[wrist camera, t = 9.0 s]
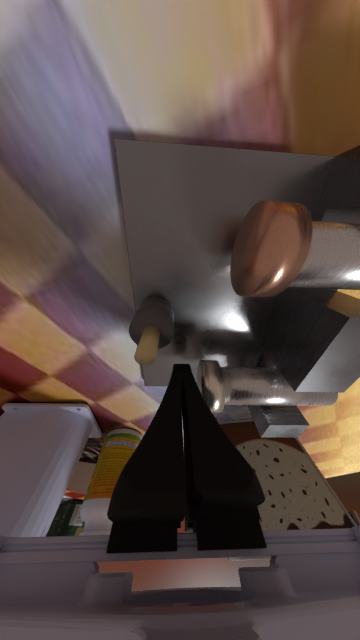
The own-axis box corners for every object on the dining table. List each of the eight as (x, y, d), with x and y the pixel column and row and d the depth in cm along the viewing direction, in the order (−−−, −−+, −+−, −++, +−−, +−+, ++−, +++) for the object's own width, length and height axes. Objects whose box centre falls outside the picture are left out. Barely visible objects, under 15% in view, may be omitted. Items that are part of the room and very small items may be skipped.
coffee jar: (76, 506, 47) (25, 646, 31) (54, 502, 43) (-17, 658, 27) (98, 502, 45) (54, 652, 29) (76, 497, 41) (13, 665, 25)
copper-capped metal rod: (225, 283, 9) (252, 310, 6) (241, 208, 7) (293, 187, 4) (369, 289, 9) (468, 317, 6) (421, 219, 7) (600, 209, 4)
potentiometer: (140, 327, 11) (121, 375, 7) (136, 296, 10) (111, 335, 6) (173, 328, 11) (172, 376, 8) (174, 297, 10) (173, 336, 6)
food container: (205, 441, 24) (222, 560, 15) (202, 423, 20) (221, 560, 12) (283, 434, 23) (348, 556, 14) (293, 414, 20) (383, 554, 11)
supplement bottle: (101, 428, 21) (50, 560, 12) (139, 426, 21) (114, 558, 12) (112, 443, 23) (77, 561, 15) (146, 442, 23) (129, 559, 15)
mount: (145, 380, 15) (133, 437, 11) (119, 146, 7) (18, -9, 2) (264, 382, 16) (297, 437, 12) (381, 166, 7) (675, 70, 3)
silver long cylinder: (195, 379, 13) (201, 423, 10) (200, 350, 11) (209, 393, 8) (292, 381, 14) (326, 424, 11) (311, 352, 12) (359, 394, 9)
